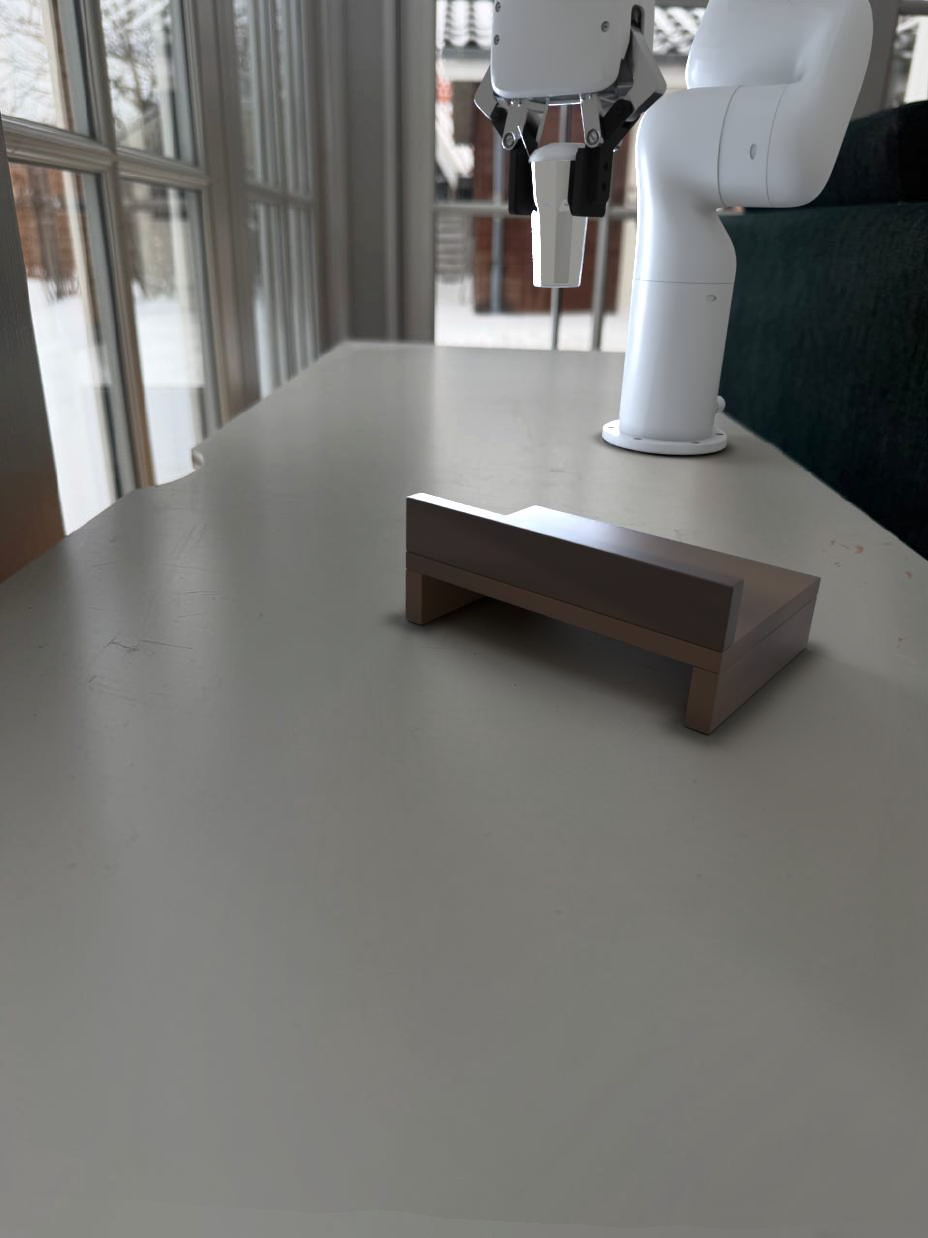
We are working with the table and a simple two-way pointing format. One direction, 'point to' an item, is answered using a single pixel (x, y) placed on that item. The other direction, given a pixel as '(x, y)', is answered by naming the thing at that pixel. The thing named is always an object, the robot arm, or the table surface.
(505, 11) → the robot arm
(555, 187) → the milkshake
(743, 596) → the shelf
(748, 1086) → the table surface
